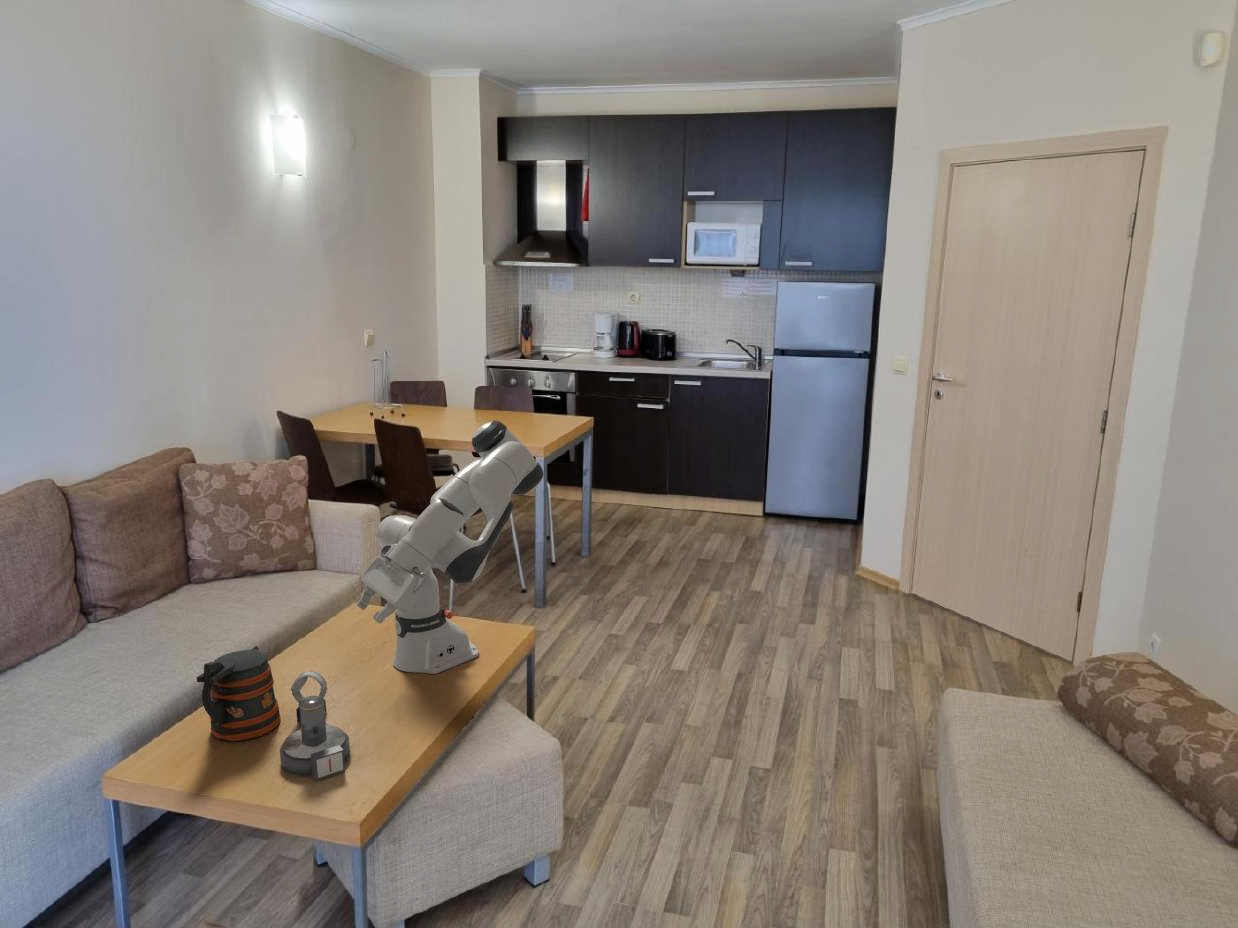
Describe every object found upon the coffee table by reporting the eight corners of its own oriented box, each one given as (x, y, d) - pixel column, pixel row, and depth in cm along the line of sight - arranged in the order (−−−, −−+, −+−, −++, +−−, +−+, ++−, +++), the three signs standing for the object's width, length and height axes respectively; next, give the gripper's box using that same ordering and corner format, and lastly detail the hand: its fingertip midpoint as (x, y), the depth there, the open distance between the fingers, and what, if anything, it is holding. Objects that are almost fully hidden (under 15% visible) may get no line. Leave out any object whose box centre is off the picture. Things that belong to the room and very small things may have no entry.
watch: (301, 709, 208) (298, 666, 206) (333, 712, 207) (330, 669, 204) (289, 720, 203) (285, 677, 200) (321, 723, 201) (318, 679, 199)
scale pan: (333, 722, 196) (333, 719, 195) (354, 746, 186) (354, 743, 186) (275, 740, 188) (275, 736, 188) (294, 766, 178) (293, 762, 178)
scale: (336, 733, 197) (335, 713, 196) (364, 765, 185) (362, 744, 183) (272, 753, 189) (270, 732, 188) (296, 788, 176) (294, 766, 175)
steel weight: (322, 731, 190) (319, 693, 188) (330, 741, 186) (327, 702, 184) (298, 738, 187) (295, 700, 185) (306, 748, 183) (303, 709, 181)
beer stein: (245, 756, 188) (236, 670, 183) (184, 750, 190) (174, 665, 186) (292, 713, 206) (286, 634, 202) (236, 707, 209) (228, 629, 204)
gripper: (438, 583, 186) (397, 637, 183) (399, 558, 202) (361, 607, 199) (418, 567, 183) (376, 622, 179) (380, 543, 199) (340, 593, 195)
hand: (367, 614), depth 189 cm, fingers open, 8 cm apart
